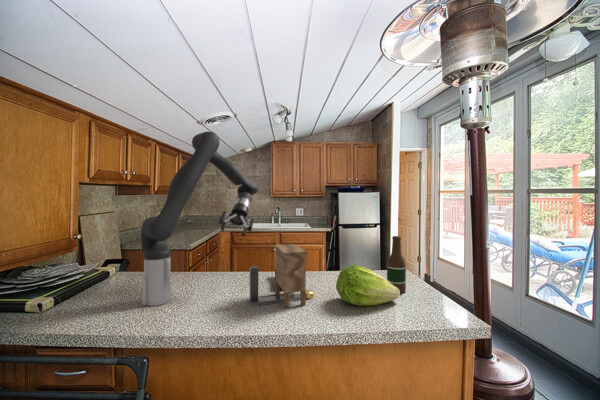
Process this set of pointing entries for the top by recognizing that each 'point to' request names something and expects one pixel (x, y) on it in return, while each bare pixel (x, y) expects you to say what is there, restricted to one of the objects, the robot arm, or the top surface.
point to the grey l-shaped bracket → (265, 300)
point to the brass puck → (309, 294)
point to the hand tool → (275, 279)
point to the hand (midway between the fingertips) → (232, 232)
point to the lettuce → (364, 287)
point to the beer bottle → (397, 266)
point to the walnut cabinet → (290, 271)
